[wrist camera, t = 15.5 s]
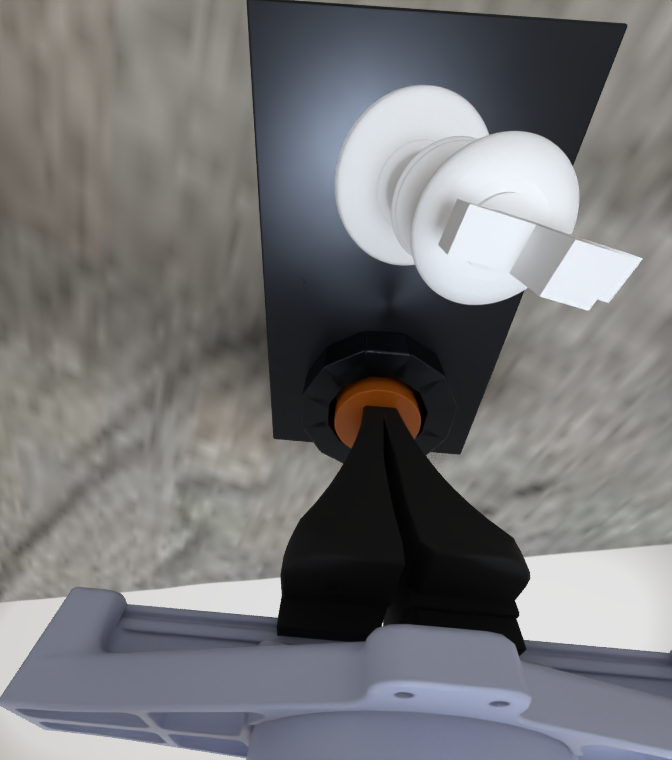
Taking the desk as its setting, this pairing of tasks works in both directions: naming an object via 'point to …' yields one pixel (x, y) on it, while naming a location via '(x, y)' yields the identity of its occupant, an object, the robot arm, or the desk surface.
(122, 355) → the desk surface
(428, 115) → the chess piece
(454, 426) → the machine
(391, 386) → the button
